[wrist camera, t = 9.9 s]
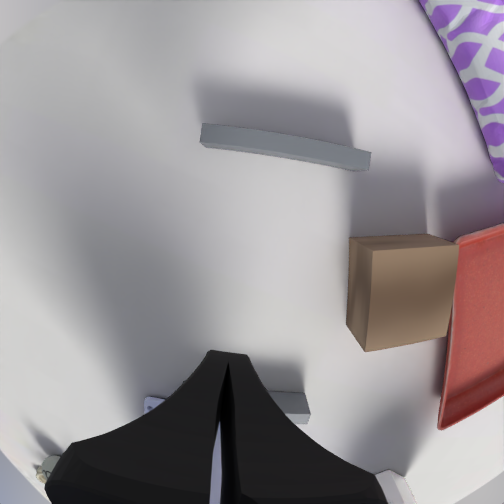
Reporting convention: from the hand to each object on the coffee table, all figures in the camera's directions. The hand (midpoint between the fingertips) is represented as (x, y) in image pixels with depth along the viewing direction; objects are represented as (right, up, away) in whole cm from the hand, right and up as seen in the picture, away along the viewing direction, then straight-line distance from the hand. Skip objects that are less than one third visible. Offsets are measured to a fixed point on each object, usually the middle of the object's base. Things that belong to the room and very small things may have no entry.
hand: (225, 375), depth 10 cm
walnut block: (+10, +2, +10) cm, 14 cm away
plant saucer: (+24, -1, +11) cm, 26 cm away
